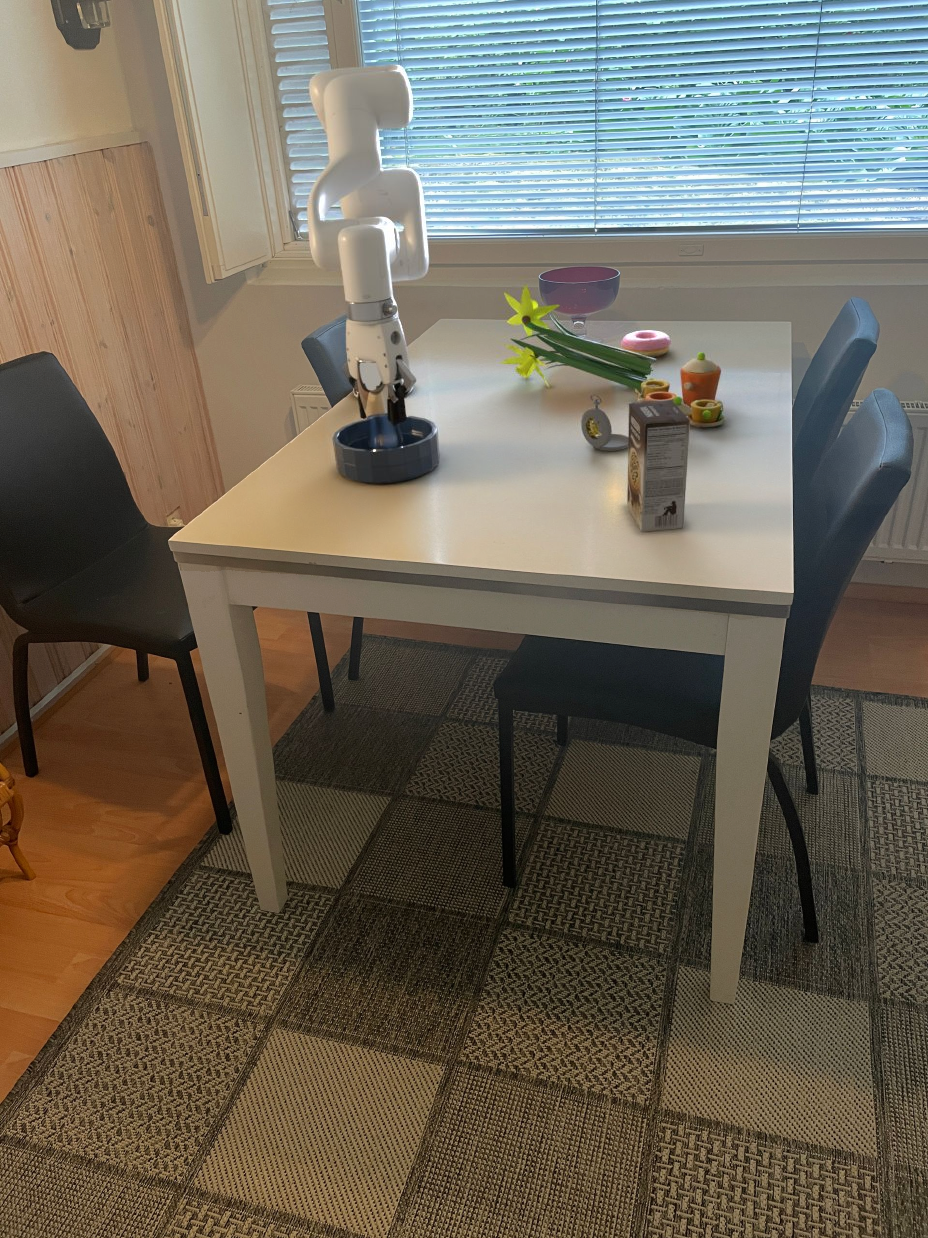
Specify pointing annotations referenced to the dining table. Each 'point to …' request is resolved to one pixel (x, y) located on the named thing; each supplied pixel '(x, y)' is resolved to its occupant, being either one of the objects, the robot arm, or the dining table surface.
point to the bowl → (386, 452)
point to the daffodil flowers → (528, 358)
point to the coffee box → (657, 464)
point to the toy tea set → (691, 392)
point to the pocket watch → (601, 430)
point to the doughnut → (646, 343)
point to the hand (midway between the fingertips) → (383, 418)
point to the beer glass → (377, 407)
